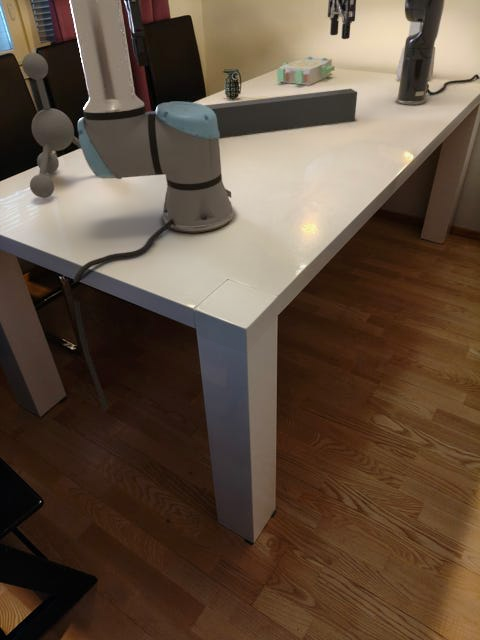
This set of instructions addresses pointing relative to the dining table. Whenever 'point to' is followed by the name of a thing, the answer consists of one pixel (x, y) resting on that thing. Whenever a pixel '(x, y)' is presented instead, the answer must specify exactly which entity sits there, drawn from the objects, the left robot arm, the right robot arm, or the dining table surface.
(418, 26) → the electronic device
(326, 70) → the decorative block
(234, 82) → the grenade
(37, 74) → the molecular model
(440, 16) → the right robot arm
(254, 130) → the bar
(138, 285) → the dining table surface
